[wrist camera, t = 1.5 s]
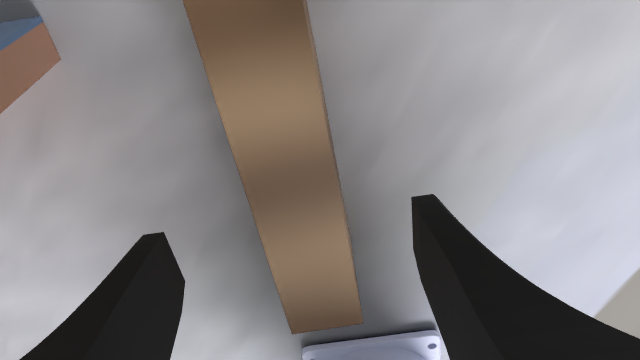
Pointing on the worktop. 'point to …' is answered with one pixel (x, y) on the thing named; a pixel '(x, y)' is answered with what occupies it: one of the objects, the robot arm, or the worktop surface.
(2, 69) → the tile
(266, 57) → the long wooden beam
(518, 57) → the worktop surface
